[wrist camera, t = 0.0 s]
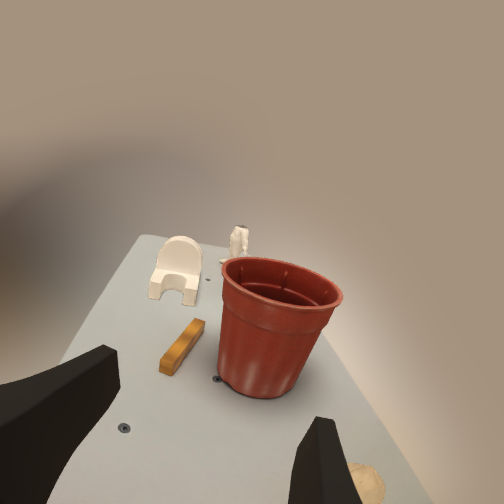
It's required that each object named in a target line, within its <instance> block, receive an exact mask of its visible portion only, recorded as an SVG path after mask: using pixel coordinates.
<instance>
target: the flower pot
mask: <svg viewBox="0 0 504 504" xmlns="http://www.w3.org/2000/svg"><path fill="white" fill-rule="evenodd" d="M221 271H222V275H223V277H224V282H223V291H222V298H223V301H224V304H223V313H222V323H221V333H220V343H219V353H218V363H217V369H218V373H219V375H220V377H221V378H222V380H223V381H226V382H228V383H229V384H230V385H231V386H232V387H233V389H234V390H235V391H237V392H239V393H242V394H244V395H247V396H251V397H256V398H275V397H279V396H282V395H283V394H284V393H285V392H287V391H288V390H291V388H292V387H293V385H294V383H295V382H296V380H297V378H298V376H299V374H300V372H301V370H302V368H303V366H304V364H305V362H306V360H307V358H308V356H309V355H310V353H311V351H312V349H313V347H314V345H315V343H316V341H317V339H318V337H319V335H320V332H321V330H322V329H323V328H324V327H325V326H326V325H327V323H328V321H329V319H330V317H331V315H332V313H333V311H334V309H335V307H337V306H338V305H339V304H340V303H341V302H342V300H343V294H342V292H341V290H340V289H339V288H338V287H337V286H336V285H335V284H334V283H333V282H331V281H330V280H328V279H327V278H325V277H323V276H322V275H320V274H318V273H315V272H313V271H311V270H308V269H306V268H303V267H300V266H297V265H294V264H291V263H288V262H284V261H279V260H274V259H268V258H260V257H237V258H232V259H229V260H227V261H225V262H224V263H223V264H222V267H221Z"/></svg>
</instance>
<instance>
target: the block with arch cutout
mask: <svg viewBox="0 0 504 504" xmlns="http://www.w3.org/2000/svg"><path fill="white" fill-rule="evenodd" d="M201 265H202V251H201V249H200V247H199V245H198V244H197V243H196V242H195V241H194V240H192V239H191V238H188V237H185V236H176V237H172V238H171V239H169V240H167V241H166V242H165V243H164V245H163V246H162V248H161V250H160V251H159V253H158V257H157V264H156V269H155V271H154V273H153V275H152V277H151V279H150V283H149V294H148V297H149V298H151V299H156V300H159V299H160V297H161V294H162V292H163V291H164V290H168V289H173V290H178V291H180V292H182V293H183V294H184V298H183V305H188V306H195V301H196V295H197V289H198V283H199V277H200V271H201Z"/></svg>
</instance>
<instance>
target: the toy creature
mask: <svg viewBox="0 0 504 504" xmlns="http://www.w3.org/2000/svg"><path fill="white" fill-rule="evenodd" d="M248 234H249V231H248V229H247V227H245V226H244V225H236V227H235V229H234V230H233V233H232V234H231V237H230V242H231V244H230V249H229V252H230V256H229V258H225V259H220V261H221V263H224V262H225V261H227V260H229V259H232V258H237V257H239V255H240V253H241V251H244V254H245V252H246V254H245V255H248V251H247V245H248ZM244 254H243V255H244ZM221 267H222V266H221Z"/></svg>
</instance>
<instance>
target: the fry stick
mask: <svg viewBox="0 0 504 504" xmlns="http://www.w3.org/2000/svg"><path fill="white" fill-rule="evenodd" d="M204 326H205V321H203V320H200V319H197V318H194V320H193V321H192V322H191V323H190V324H189V326H188V327H187V328H186V329H185V330H184V332H183V333H182V334H181V335H180V336H179V338H178V339H177V340H176V341H175V342H174V344H173V345H172V346H171V347H170V348H169V350H168V351H167V352H166V353H165V354H164V356H163V357H162V358H161V359H160V367H159V371H160V372H162V373H165V374H168V375H170V376H172V375H173V374H174V372H175V371H176V369H177V368H178V367H179V365H180V364H181V362H182V361H183V360H184V358H185V357H186V355H187V354H188V353H189V351H190V350H191V348H192V347H193V346H194V344H195V343H196V341H197V340H198V339H199V337H200V336H201V334H202V333H203V332H204Z"/></svg>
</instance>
